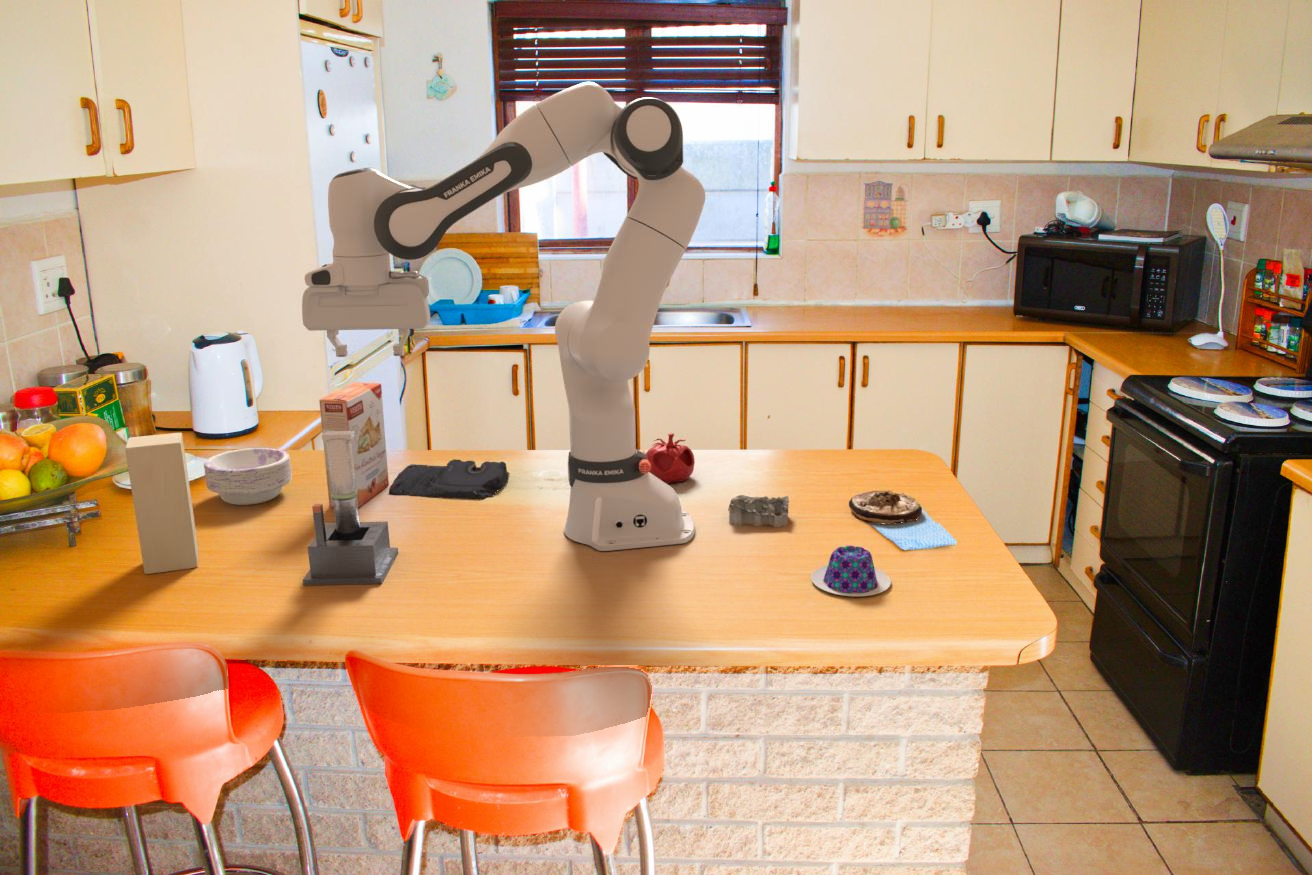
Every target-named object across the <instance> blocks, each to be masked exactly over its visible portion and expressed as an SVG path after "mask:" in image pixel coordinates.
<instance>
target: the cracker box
mask: <svg viewBox="0 0 1312 875" xmlns="http://www.w3.org/2000/svg"><path fill="white" fill-rule="evenodd" d="M382 390H383V389H382V383H379V382H359V381H354V382H352V383H351V384H348V385H346V386H345V387H342V388H341V389H339V390H336V391H334V392H332V393H330V394H328V395H326V396H324V397H322V398H320V399H319V401H318V402H319V411H320V412H319V414H320V421H321V422H320V423H321V431H322V434H323V433H324V432H325V431H354V435H355V436H354V437H353V438H352V439H351V444H352V454H353V464H354V474H355V483H356V489H357V493H358V496H357V503H358V508H360V507H361V506H362V505H364V504H365V503H367V502H368V501H369V500H370V499H372V498H373V497H375V496H376V495H378V493H380V492H382V491H383V490H384V489H385V488H388V486H389V485H390V482H389V472H388V458H387V456H388V454H387V444H386V442H387V441H386V431H385V429H386V428H385V419H384V404H383V403H384V402H383V392H382ZM322 434H321V435H322ZM322 443H323V452H324V462H325V463H324V464H325V474H326V486H327V493H328V505H329V508H334V504H333V499H332V496H331V492H332V486H331V477H330V468H329V459H328V450H327V441H326V440H322Z"/></svg>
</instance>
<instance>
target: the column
mask: <svg viewBox="0 0 1312 875" xmlns="http://www.w3.org/2000/svg"><path fill="white" fill-rule="evenodd" d="M354 436H355V435H354V431H325V432H324V433H323V434H321V440H322V441H323V440H326V441H327V450H328V459H329V468H330V477H331V486H332V492H331V496H332V499H333V504H334V507H333V511H334V521H335V522H334V523H336V531H337V532H338V533H352V532H356V531H358V530H359V529H360V522H361V521H360V515H359V513H360V512H359V507H358V503H357V496H358V493H357V489H356V483H355V474H354V464H353V454H352V444H351V439H352V438H353V437H354Z"/></svg>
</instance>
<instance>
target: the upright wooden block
mask: <svg viewBox="0 0 1312 875" xmlns="http://www.w3.org/2000/svg"><path fill="white" fill-rule="evenodd" d="M125 456H126V463H127V469H128V475H129V476H128V477H129V482H130V483H129V484H130V489H131V490H130V491H131V495H132V502H133V508H134V515H135V520H136V526H137V533H138V539H139V547H140V553H141V560H142V566H143V571H144V572H143V573H144V574H145V575H152V574H159V573H165V572H173V571H180V570H181V571H182V570H187V569H195V568H198V566H199V554H200V553H199V545H198V538H197V531H196V523H195V516H194V509H193V502H192V495H191V489H190V488H191V486H190V481H189V474H188V467H187V458H186V452H185V445H184V438H183V433H182V432H172V433H161V434H153V435H142V436H132V437H128V440H127V443H126V445H125Z"/></svg>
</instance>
